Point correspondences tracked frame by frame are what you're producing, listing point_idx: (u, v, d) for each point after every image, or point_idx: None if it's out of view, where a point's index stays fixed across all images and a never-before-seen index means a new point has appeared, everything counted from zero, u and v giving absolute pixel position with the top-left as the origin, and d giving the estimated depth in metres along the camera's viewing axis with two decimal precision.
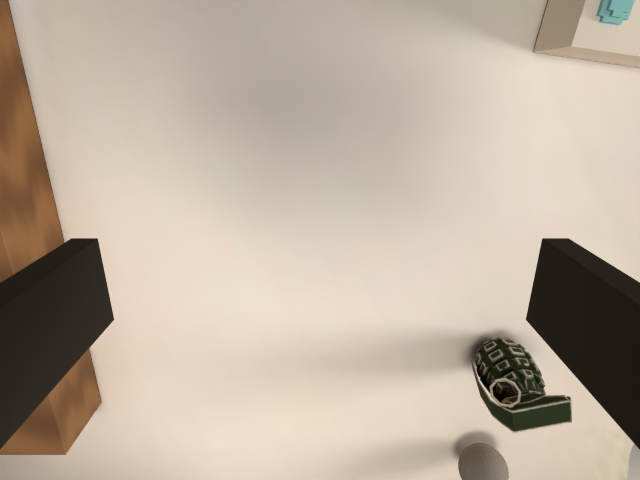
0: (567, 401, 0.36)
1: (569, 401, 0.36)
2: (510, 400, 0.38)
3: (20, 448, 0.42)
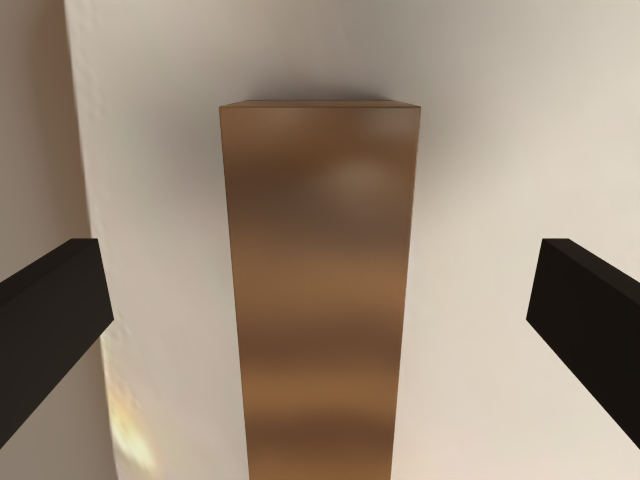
0: None
1: None
2: None
3: None
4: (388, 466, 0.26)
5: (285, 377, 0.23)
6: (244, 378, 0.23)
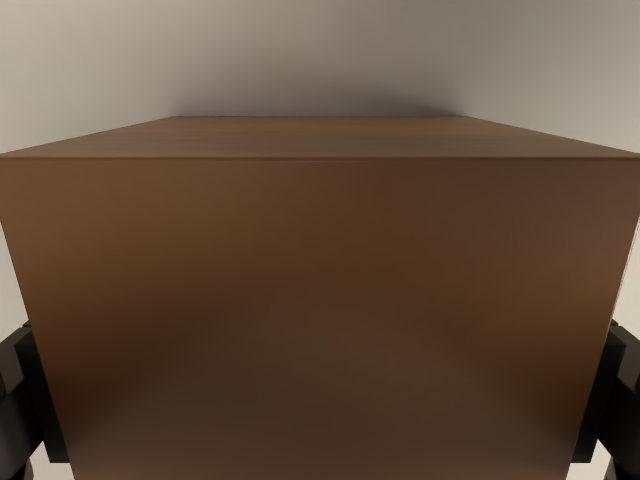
0: None
1: None
2: None
3: None
4: None
5: None
6: None
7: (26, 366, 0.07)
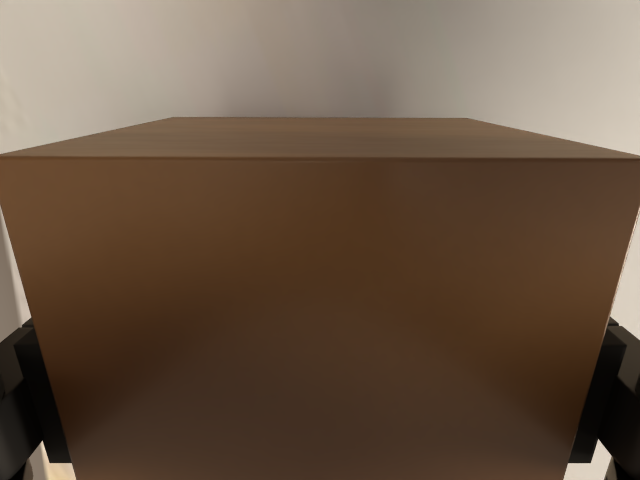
0: None
1: None
2: None
3: None
4: None
5: None
6: None
7: (25, 366, 0.07)
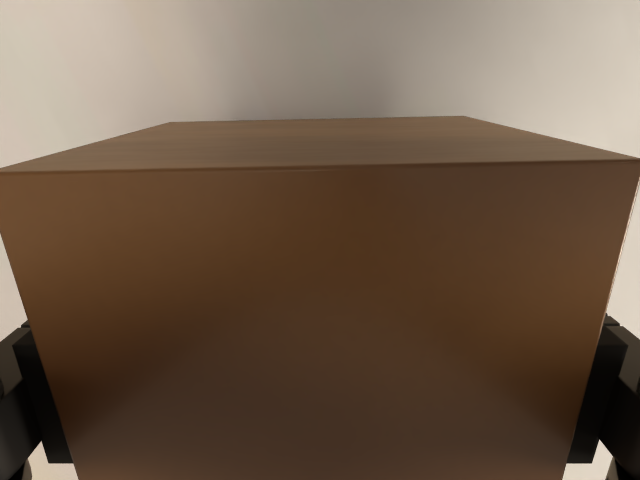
0: None
1: None
2: None
3: None
4: None
5: None
6: None
7: (24, 366, 0.07)
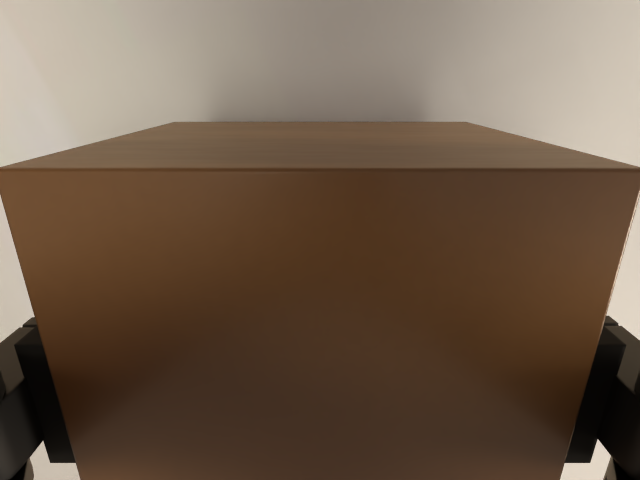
0: None
1: None
2: None
3: None
4: None
5: None
6: None
7: (26, 366, 0.07)
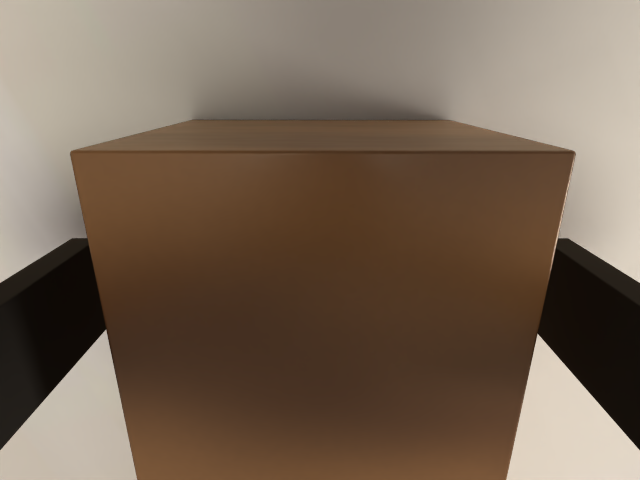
0: None
1: None
2: None
3: None
4: None
5: None
6: None
7: None
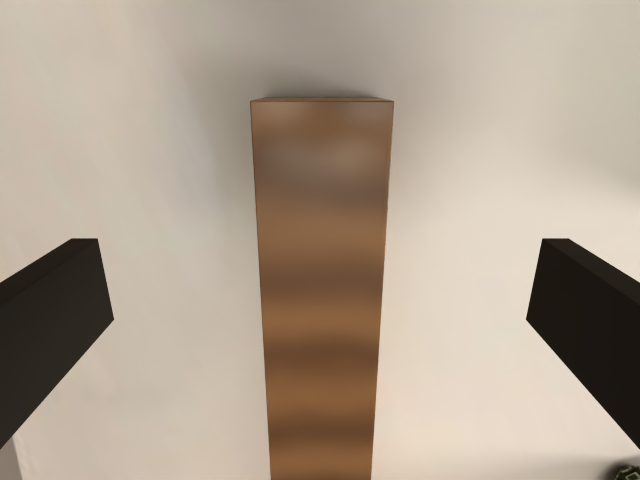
0: None
1: None
2: None
3: None
4: (374, 381, 0.33)
5: (295, 307, 0.31)
6: (264, 308, 0.31)
7: None
